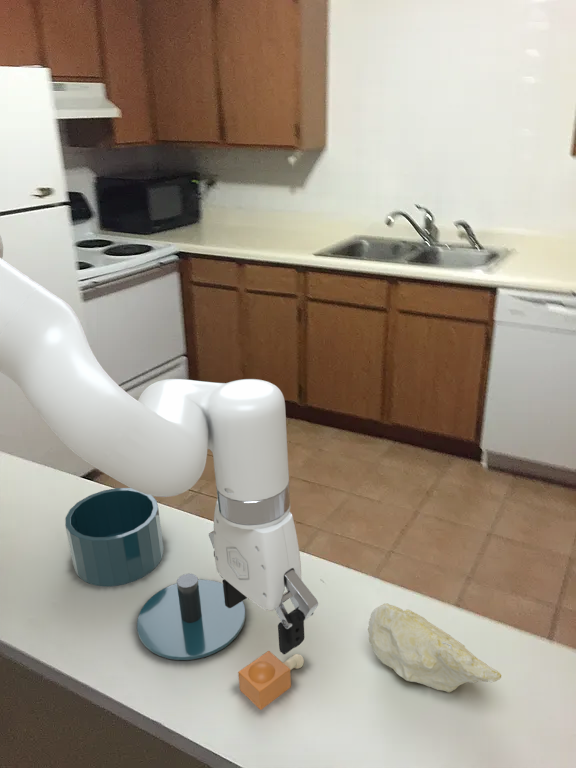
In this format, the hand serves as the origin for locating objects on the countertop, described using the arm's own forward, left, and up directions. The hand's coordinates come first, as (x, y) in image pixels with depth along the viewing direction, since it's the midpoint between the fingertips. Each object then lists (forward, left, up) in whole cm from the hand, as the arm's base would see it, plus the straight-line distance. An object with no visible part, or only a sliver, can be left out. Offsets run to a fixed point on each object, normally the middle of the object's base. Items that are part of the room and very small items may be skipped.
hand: (263, 623), depth 76 cm
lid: (+7, +14, -10) cm, 19 cm away
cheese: (+8, -19, -11) cm, 23 cm away
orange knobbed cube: (+1, -1, -10) cm, 11 cm away
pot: (+16, +31, -10) cm, 37 cm away
